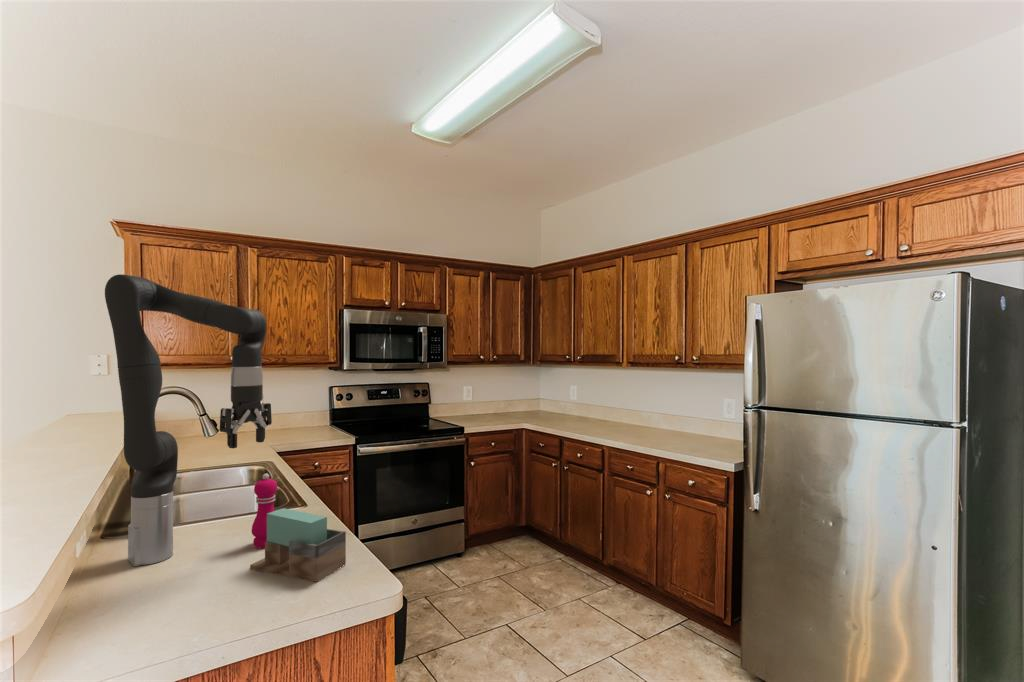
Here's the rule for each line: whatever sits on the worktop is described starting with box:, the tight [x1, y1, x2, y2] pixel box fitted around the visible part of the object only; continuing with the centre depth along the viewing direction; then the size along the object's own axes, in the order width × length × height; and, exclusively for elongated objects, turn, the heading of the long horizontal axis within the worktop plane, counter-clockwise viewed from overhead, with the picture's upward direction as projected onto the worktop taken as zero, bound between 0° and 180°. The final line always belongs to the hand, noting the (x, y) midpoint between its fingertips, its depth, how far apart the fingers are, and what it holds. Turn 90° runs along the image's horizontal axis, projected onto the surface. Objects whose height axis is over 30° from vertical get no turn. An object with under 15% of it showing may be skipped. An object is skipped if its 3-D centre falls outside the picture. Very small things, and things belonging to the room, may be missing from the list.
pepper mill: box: [251, 472, 278, 549], centre depth 145 cm, size 7×7×20 cm
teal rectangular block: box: [267, 507, 328, 546], centre depth 130 cm, size 16×5×7 cm, turn 63°
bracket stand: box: [249, 528, 347, 583], centre depth 129 cm, size 21×10×8 cm, turn 69°
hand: (246, 445), depth 135 cm, fingers open, 8 cm apart
